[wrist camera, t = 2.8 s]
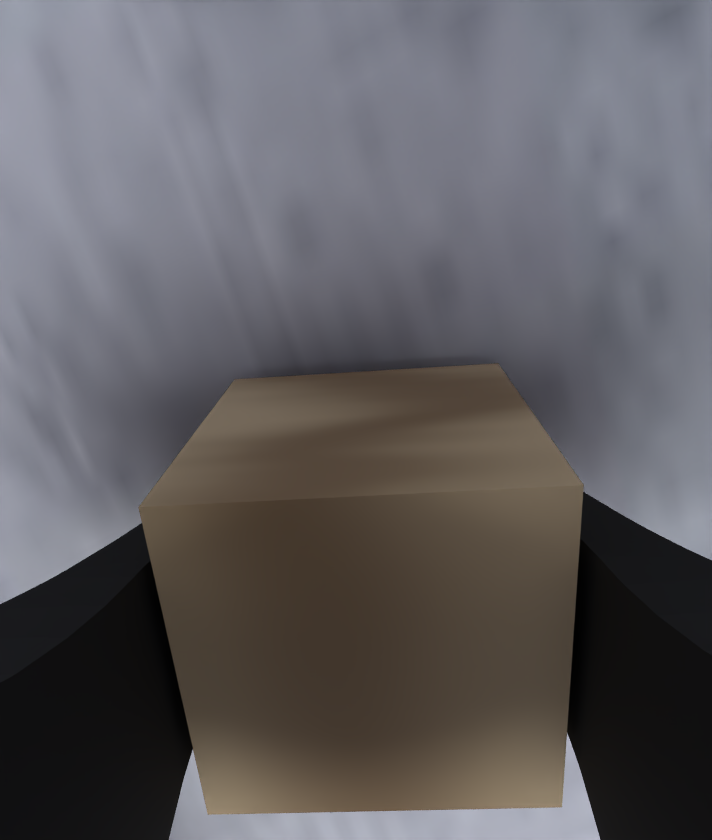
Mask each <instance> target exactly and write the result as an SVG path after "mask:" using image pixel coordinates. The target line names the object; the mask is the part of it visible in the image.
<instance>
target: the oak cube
mask: <svg viewBox="0 0 712 840" xmlns="http://www.w3.org/2000/svg"><path fill="white" fill-rule="evenodd" d="M583 488H584V485H583V483H582V482H581V481H580V479H579V478H578V476H577V475H576V474H575V472H574V471H573V469H572V468H571V466H570V465H569V464H568V462H567V461H566V459H565V458H564V456H563V455H562V454H561V452H560V451H559V449H558V448H557V446H556V445H555V444H554V442H553V441H552V439H551V438H550V437H549V435H548V434H547V432H546V431H545V429H544V428H543V427H542V425H541V424H540V422H539V421H538V419H537V418H536V417H535V415H534V414H533V412H532V411H531V410H530V408H529V407H528V405H527V404H526V402H525V401H524V400H523V398H522V397H521V395H520V394H519V392H518V391H517V390H516V388H515V387H514V385H513V384H512V383H511V381H510V380H509V378H508V377H507V375H506V374H505V373H504V371H503V370H502V368H501V367H500V365H499V364H498V363H494V364H478V365H461V366H445V367H428V368H412V369H395V370H379V371H363V372H346V373H330V374H313V375H297V376H280V377H264V378H248V379H234V381H233V382H232V383H231V385H230V386H229V387H228V389H227V390H226V391H225V393H224V394H223V395H222V397H221V398H220V399H219V401H218V402H217V403H216V405H215V406H214V407H213V409H212V410H211V411H210V413H209V414H208V415H207V417H206V418H205V419H204V421H203V422H202V423H201V425H200V426H199V427H198V429H197V430H196V431H195V433H194V434H193V435H192V437H191V438H190V439H189V441H188V442H187V443H186V445H185V446H184V447H183V449H182V450H181V451H180V453H179V454H178V455H177V457H176V458H175V459H174V461H173V462H172V463H171V465H170V466H169V467H168V469H167V470H166V471H165V473H164V474H163V475H162V477H161V478H160V479H159V481H158V482H157V483H156V485H155V486H154V487H153V489H152V490H151V491H150V493H149V494H148V495H147V497H146V498H145V499H144V501H143V502H142V503H141V504H140V506H139V512H140V516H141V521H142V525H143V529H144V534H145V538H146V543H147V547H148V551H149V556H150V560H151V565H152V569H153V574H154V578H155V582H156V587H157V591H158V596H159V600H160V605H161V609H162V613H163V618H164V622H165V627H166V631H167V636H168V640H169V644H170V649H171V653H172V658H173V662H174V667H175V671H176V675H177V680H178V684H179V689H180V693H181V698H182V702H183V706H184V711H185V715H186V720H187V724H188V729H189V733H190V737H191V742H192V746H193V751H194V755H195V760H196V764H197V768H198V773H199V777H200V782H201V786H202V791H203V795H204V799H205V804H206V808H207V813H208V815H210V814H258V813H307V812H356V811H404V810H453V809H501V808H550V807H562V797H563V783H564V768H565V753H566V738H567V724H568V709H569V694H570V679H571V665H572V650H573V635H574V620H575V606H576V591H577V576H578V561H579V547H580V532H581V517H582V502H583Z"/></svg>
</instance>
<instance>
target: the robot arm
mask: <svg viewBox="0 0 712 840" xmlns="http://www.w3.org/2000/svg"><path fill="white" fill-rule="evenodd" d="M567 733H568V736H569V738H570V741H571V744H572V747H573V750H574V752H575V755H576V758H577V761H578V764H579V767H580V770H581V773H582V777H583V780H584V784H585V787H586V791H587V794H588V798H589V801H590V804H591V808H592V811H593V815H594V818H595V822H596V825H597V829H598V832H599V836H600V839H601V840H712V560H710V559H707V558H705V557H703V556H701V555H698V554H696V553H694V552H692V551H690V550H688V549H686V548H683V547H682V546H680V545H678V544H676V543H674V542H672V541H670V540H668V539H666V538H664V537H662V536H660V535H658V534H656V533H654V532H652V531H650V530H648V529H646V528H645V527H643V526H641V525H639V524H637V523H635V522H634V521H632V520H630V519H628V518H627V517H625V516H623V515H621V514H620V513H618V512H616V511H614V510H613V509H611V508H609V507H608V506H606V505H604V504H603V503H601V502H599V501H598V500H596V499H594V498H593V497H591V496H589V495H588V494H586V493H584V492H583V502H582V517H581V532H580V547H579V561H578V576H577V591H576V606H575V620H574V635H573V650H572V665H571V679H570V694H569V709H568V724H567ZM192 750H193V746H192V742H191V737H190V733H189V729H188V724H187V720H186V715H185V711H184V706H183V702H182V698H181V693H180V689H179V684H178V680H177V675H176V671H175V667H174V662H173V658H172V653H171V649H170V644H169V640H168V636H167V631H166V627H165V622H164V618H163V613H162V609H161V605H160V600H159V596H158V591H157V587H156V582H155V578H154V574H153V569H152V565H151V560H150V556H149V551H148V547H147V543H146V538H145V534H144V529H143V525H142V523H141V524H140V525H138V526H137V527H135V528H134V529H132V530H131V531H129V532H128V533H126V534H125V535H123V536H121V537H120V538H118V539H117V540H115V541H114V542H112V543H110V544H109V545H107V546H106V547H104V548H102V549H101V550H99V551H97V552H96V553H94V554H92V555H91V556H89V557H87V558H86V559H84V560H82V561H81V562H79V563H77V564H76V565H74V566H72V567H71V568H69V569H68V570H66V571H64V572H62V573H60V574H59V575H57V576H55V577H53V578H51V579H50V580H48V581H46V582H44V583H42V584H40V585H38V586H36V587H34V588H32V589H30V590H28V591H26V592H24V593H22V594H20V595H18V596H16V597H14V598H12V599H10V600H8V601H6V602H4V603H2V604H0V840H169V836H170V832H171V828H172V824H173V819H174V815H175V811H176V807H177V803H178V799H179V795H180V791H181V787H182V783H183V779H184V775H185V772H186V769H187V766H188V762H189V759H190V756H191V753H192Z"/></svg>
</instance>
